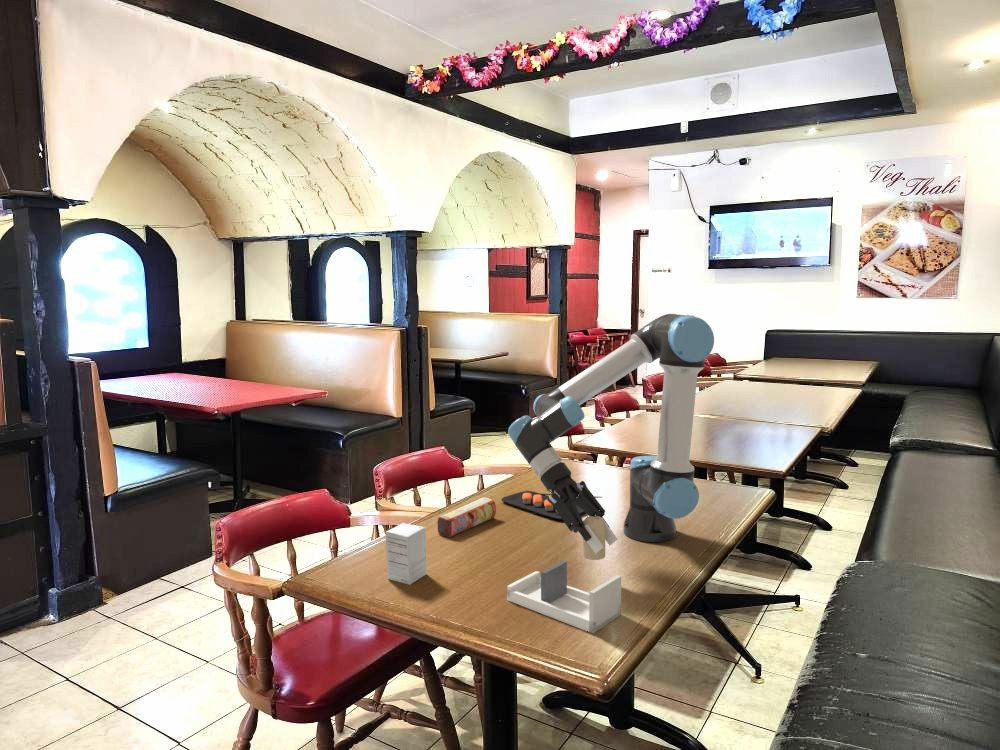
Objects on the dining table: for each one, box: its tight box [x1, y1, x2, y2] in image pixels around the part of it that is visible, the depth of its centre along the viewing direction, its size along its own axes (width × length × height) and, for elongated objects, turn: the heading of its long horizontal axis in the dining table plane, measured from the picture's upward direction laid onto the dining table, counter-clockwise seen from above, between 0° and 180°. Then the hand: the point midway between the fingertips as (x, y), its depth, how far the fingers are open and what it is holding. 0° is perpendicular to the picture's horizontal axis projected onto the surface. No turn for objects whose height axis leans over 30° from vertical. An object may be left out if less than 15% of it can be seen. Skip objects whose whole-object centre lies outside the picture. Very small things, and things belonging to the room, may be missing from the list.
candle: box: [582, 515, 606, 561], centre depth 167 cm, size 6×6×10 cm
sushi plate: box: [501, 489, 602, 520], centre depth 230 cm, size 29×30×4 cm
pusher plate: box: [540, 560, 568, 603], centre depth 156 cm, size 8×1×8 cm, turn 138°
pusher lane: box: [506, 570, 622, 634], centre depth 155 cm, size 11×24×9 cm, turn 48°
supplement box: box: [385, 522, 428, 585], centre depth 172 cm, size 7×7×13 cm
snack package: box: [436, 497, 497, 538], centre depth 208 cm, size 21×7×7 cm, turn 141°
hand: (606, 546), depth 165 cm, fingers closed on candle, 5 cm apart
